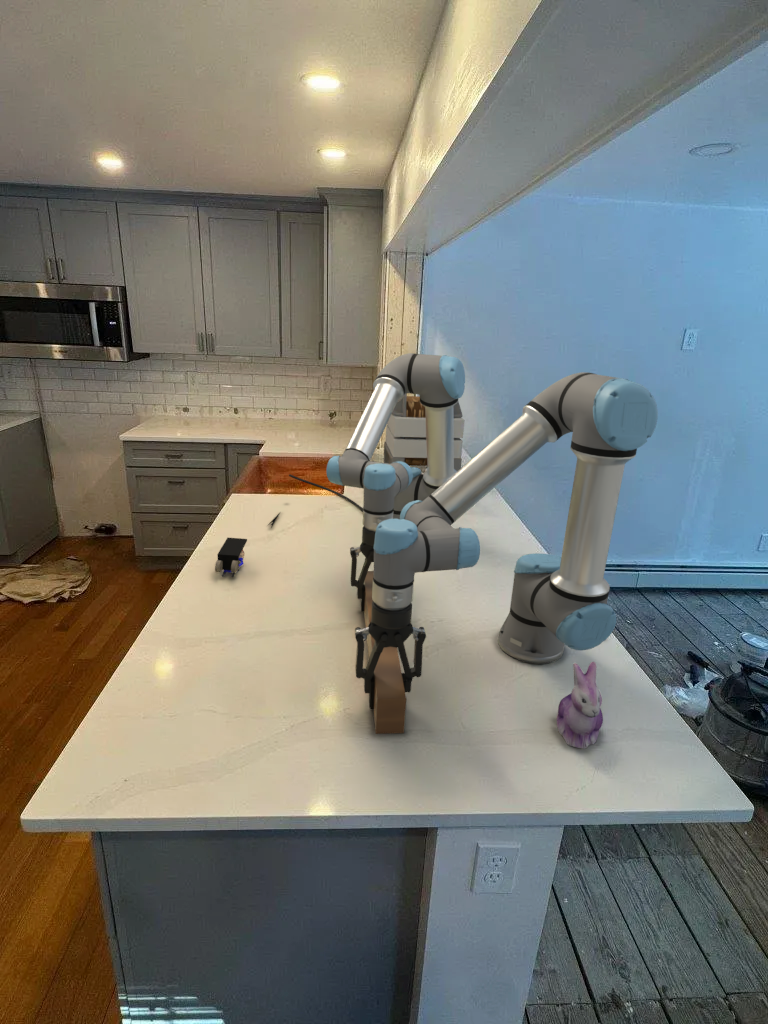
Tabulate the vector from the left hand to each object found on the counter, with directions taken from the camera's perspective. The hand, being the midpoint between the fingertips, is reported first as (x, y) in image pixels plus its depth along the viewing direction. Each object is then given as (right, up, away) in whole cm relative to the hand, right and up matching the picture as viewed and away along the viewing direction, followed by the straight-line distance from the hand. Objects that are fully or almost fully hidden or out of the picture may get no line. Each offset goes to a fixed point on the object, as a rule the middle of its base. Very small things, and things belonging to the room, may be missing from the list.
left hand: (374, 608), depth 149 cm
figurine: (+40, -17, -40) cm, 59 cm away
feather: (-37, +24, +63) cm, 77 cm away
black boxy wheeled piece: (-42, +8, +19) cm, 47 cm away
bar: (+2, -7, -18) cm, 19 cm away
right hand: (+3, -13, -36) cm, 38 cm away
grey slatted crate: (+20, +44, +126) cm, 135 cm away
